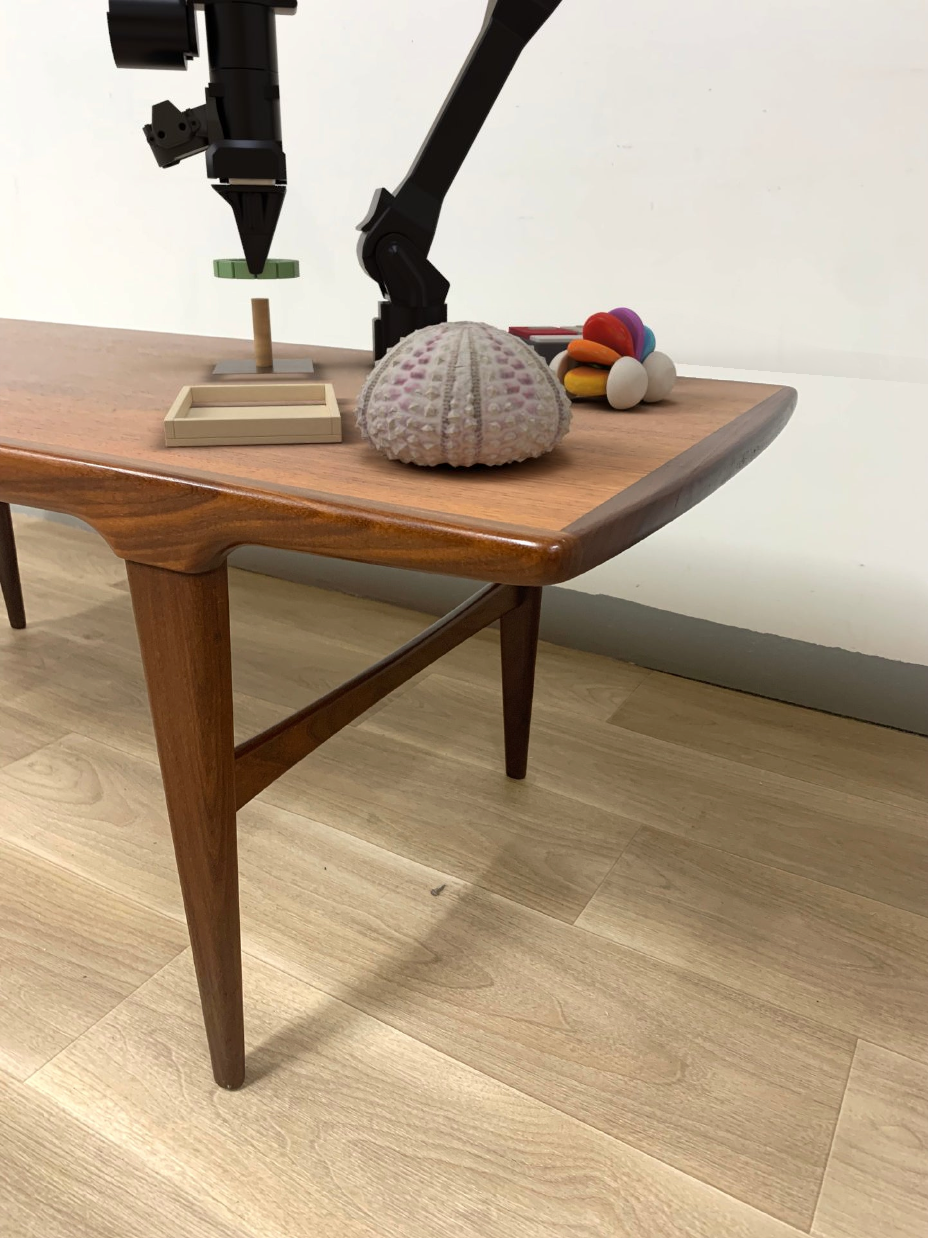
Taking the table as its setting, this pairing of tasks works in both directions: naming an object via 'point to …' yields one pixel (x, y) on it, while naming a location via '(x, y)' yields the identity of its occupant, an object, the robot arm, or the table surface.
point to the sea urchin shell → (462, 398)
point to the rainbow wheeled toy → (615, 361)
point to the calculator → (548, 338)
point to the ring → (270, 271)
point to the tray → (253, 416)
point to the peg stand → (263, 350)
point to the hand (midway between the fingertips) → (257, 271)
